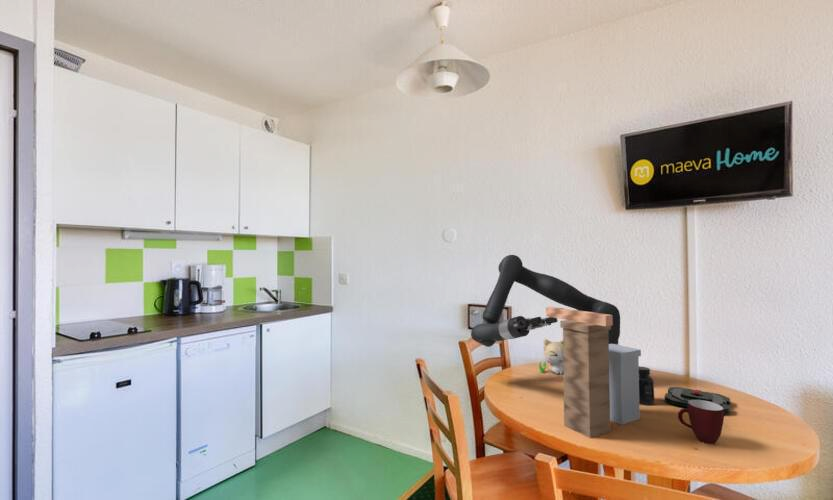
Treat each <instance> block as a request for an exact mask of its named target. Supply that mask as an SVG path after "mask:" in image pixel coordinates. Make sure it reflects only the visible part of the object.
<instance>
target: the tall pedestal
mask: <svg viewBox="0 0 833 500" xmlns="http://www.w3.org/2000/svg"><path fill="white" fill-rule="evenodd" d="M559 326H560V328H562V340H563V368H564V372H563V412H564V413H563V415H564V416H563V420H564V421H563V422H564V423H563V424H564V427H567V428H569V429H570V430H573V431H575V432H577V433H579V434H581V435H583V436H585V437H588V438H589V439H590V438H593V437H596V436H599V435H603V434H605V433H608V432H610V431H611V420H610V390H609V336H608V330H611V326H601V325H595V324H589V323H583V322H577V321H571V320H565V319H563V320H560V323H559Z"/></svg>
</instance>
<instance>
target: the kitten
mask: <svg viewBox="0 0 833 500" xmlns="http://www.w3.org/2000/svg"><path fill="white" fill-rule="evenodd" d="M543 356H544V360H545V361H544V363H543V364H542V361H540V362H539V364H538V367H539V373H541V374H545V373H544V372H545V370H546V368H547V364H546V362H547V363H548V364H549V366H548V370H549V371H550V372H551V373H554V374H556V375H558V374H559V375H563V374H564V368H563V339H562V340H560V341H553V342H552V341H550V340H549V339H547V338H544V339H543ZM542 365H543V366H542Z"/></svg>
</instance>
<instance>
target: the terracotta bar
mask: <svg viewBox="0 0 833 500" xmlns="http://www.w3.org/2000/svg"><path fill="white" fill-rule="evenodd" d="M545 317H547V318H548V317H553V318H557V319H559V320H571V321H577V322H583V323H589V324H595V325H601V326H613V317H612V315H609V314H601V313H594V312H587V311H580V310H577V309H573V308H571V309H570V308H563V307H558V306H546V307H545Z"/></svg>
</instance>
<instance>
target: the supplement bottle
mask: <svg viewBox="0 0 833 500" xmlns="http://www.w3.org/2000/svg"><path fill="white" fill-rule="evenodd" d="M654 383H655V382H654V378H653V377H652V376H651V368H649V367H647V366H639V405H644V406H651V405H654V404H655V390H654V389H655V384H654Z"/></svg>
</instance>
